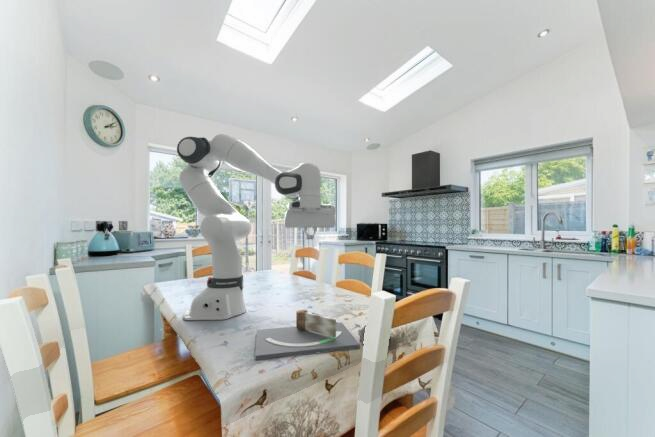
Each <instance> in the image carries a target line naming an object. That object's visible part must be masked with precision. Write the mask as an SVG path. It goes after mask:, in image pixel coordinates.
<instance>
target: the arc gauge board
mask: <svg viewBox="0 0 655 437" xmlns="http://www.w3.org/2000/svg"><path fill="white" fill-rule="evenodd" d="M255 342H256V344H255V354H254V355H255V356H254V357H255V358H254V360H255V361H257V360H265V359H267V360H268V359H274V358H275V359H276V358H283V357H290V356H299V355H300V356H301V354H302V355H308V354H310V353H311V354H317V352H320V353H328V352H327V351H329V352H335V351H344V350H355V349H360V347H361V344H360V342H358V340H356V338H355V337H354V335H353V334H352V333H351V332H350V331H349V329H348V328H347V327H346V325H345V324H344V323H343V322H337V323H336V337H335V338H334V337H331V336H327V335H324V334H320V333H317V332H314V331H310V330H307V329H302V330H301V329H297V328H296V326H286V327H275V328H273V327H272V328H263V329H257V330H256V340H255Z"/></svg>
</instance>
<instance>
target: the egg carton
mask: <svg viewBox="0 0 655 437" xmlns="http://www.w3.org/2000/svg"><path fill="white" fill-rule="evenodd" d="M366 325H367V324H366ZM366 325H364V326H363V327H362V328H360V329H358V332H357V335H358V336H359V343H361V345H364V344H363V341H364V333H365V327H366Z"/></svg>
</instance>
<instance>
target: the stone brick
mask: <svg viewBox="0 0 655 437" xmlns="http://www.w3.org/2000/svg"><path fill="white" fill-rule="evenodd" d="M295 313H296V316H295V317H296V322H295V323H296V328H297V329H301V330H302V329H307V330H310V331H314V332H317V333H320V334H324V335H327V336H331V337H334V338H335V337H336V322H337V319H335V318H332V317H327V316H324V315H321V316H320V314H318V315H316V314H317V313H316V314H312V313H313V312H309V311H308V310H306V309H299V310H296V312H295Z"/></svg>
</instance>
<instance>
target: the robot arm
mask: <svg viewBox="0 0 655 437" xmlns="http://www.w3.org/2000/svg"><path fill="white" fill-rule="evenodd" d="M176 153H177V154H178V156H179V158H180V159H181V160H182V161H183V162H184V163H187V167H186V168H184V169H183V170H182V171H181V172H180V174H179V177H178V178H179V182H180V185H181V187H182V188H183V190H184V193H186V194H185V195H187V197H188V199H189V200H190V202H192V205H193V206H194V207H195V209H196V210H197V212H198V213H199V214H200V215H202V216H203V217H204V218H203V219H202V220H201V222H200V225H199V231H200V234H201V236H202V237H203V239H205V241H206V242H207V244H208V248H209V249H210V253H211V258H212V259H211V260H212V276H209V277H207V280H206V287H205V288H204V289H203V290H202V291H201V292H200V293H198V294H197V295H196V296H195V297H194V298H193V299H192V302H191V304H190V309H188V310H187V311H185V313H184V314H183V320H185V321H215V320H216V321H217V320H220V321H221V320H222V321H223V320H228V319H230V318H232V317H235V316H236V317H237V316H239V315H241V314H244V313H245V312H246V311H247V308H246V303H245V299H244V281H245V280H244V279H245V278H244V275H243V256H242V254H241V253H240V252H239V249H238V246H237V241H241V240H242V239H245V238H246V237H247V236H249V235H250V233H251V231H252V225H251V222H250V221H249V219H248V218H247V217H245V216H243V215H242V214H241V213H240V212H239V211H238V210H237V209H236V208H235V207H234V206H233V205H232V204H231V203H229V201H227V199H226V198H225V197H224V195H222V194H221V192H220V190H218V188H217V187H216V185H215V184H214V182H213V181H212V180H211V177H213V176H214V175H215V174H216V173H217V172H218V171H219V170H220V169H221V168H222V165H223V163H225V164H226V165H228V166H230V167H231V168H233V169H236V170H238V171H241V172H243V173H247V174H251V175H252V176H257V177H260V178H262V179H265V180H266V181H268V182H270V183H271V184H273V185H274V188H275V190H276V192H277V193H279V194H280V195H281V196H284V197H287V198H289V199H291V200H293V201H291V202H288V203H287V210H286V211H285V214H284V219H283V226H284V228H287V229H288V228H291V229H292V228H293V229H294V228H296V229H297V228H299V229H300V228H302V231H303V233H304V234H305V240H314V239H315V234H316V232H317V231H318V230H317V229H318V228H319V229H320V228H321V229H323V228H325V229H326V228H331V229H332V228H334V227H335V226H336V217H335V215H336V207H335V206H334V205H332V204H322V194H321V188H322V178H321V177H322V176H321V175H322V174H321V170H320V168H319V167H318V166H317V165H316V164H313V163H309V162H303V163H302V162H301V163H299V165H298V166H297V167H295V168H292V169H289V170H287V171H280V170H279V169H277V168H276V167H274V166H272V165H270V164H269V162H267V161H266V160H265V159H264V158H262V156H260V155H259V154H258V153H257V152H256V151H255V150H254V149H253V148H251V146H249V145H248V144H246V143H245V142H243V141H241V140H239V139H237V138H235V137H234V136H230V135H227V134H224V133H219V134H216V135H215V136H214V137H213V138H212V139H211V140H208V139H207V138H206V137H197V136H185V137H183V138H182V139H180V140H179V142H178V143H177V147H176ZM308 228H311V229H312V230H311V231H312V233H311V234H309V233H308V232H307V231H308Z"/></svg>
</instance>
